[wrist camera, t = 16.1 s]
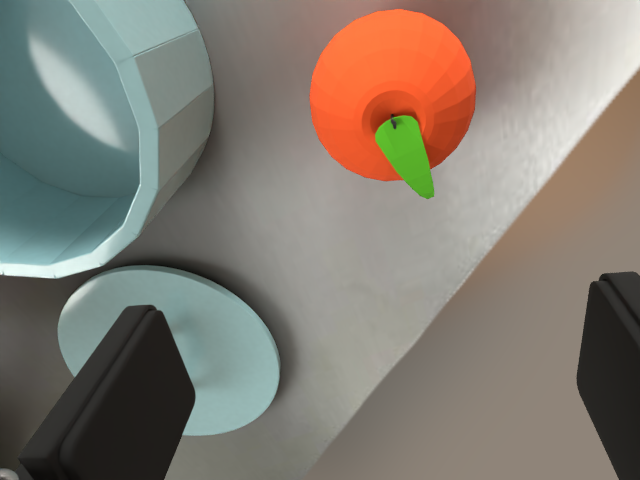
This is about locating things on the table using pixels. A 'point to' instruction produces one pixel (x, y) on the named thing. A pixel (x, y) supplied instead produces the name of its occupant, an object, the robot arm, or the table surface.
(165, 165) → the pot
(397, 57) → the clementine
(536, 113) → the table surface
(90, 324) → the lid
